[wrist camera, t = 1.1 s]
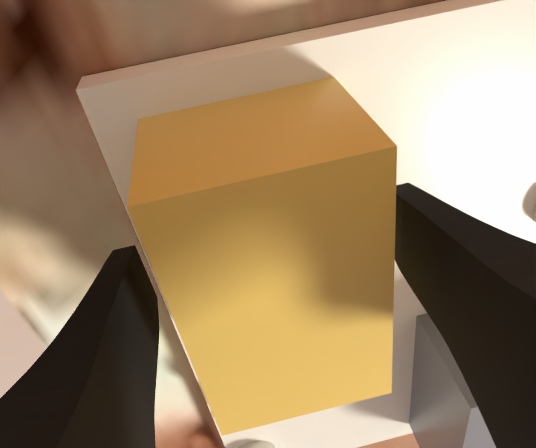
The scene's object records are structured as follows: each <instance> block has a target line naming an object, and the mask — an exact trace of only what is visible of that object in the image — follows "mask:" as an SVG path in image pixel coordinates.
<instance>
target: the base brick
mask: <svg viewBox="0 0 536 448" xmlns="http://www.w3.org/2000/svg"><path fill="white" fill-rule="evenodd" d="M409 425H410V427H411V429H412V431H413V434H414V436H415V438H416V440H417V442H418V445H419V447H420V448H496V446H495V444H494V442H493V439H492V437H491V435H490V433H489V431H488V428H487V426H486V424H485V422H484V419H483V417H482V415H481V413H480V411H479V408H478V406H477V404H476V402H475V400H474V398H473V396H472V394H471V392H470V389H469V387H468V385H467V383H466V381H465V379H464V377H463V375H462V373H461V371H460V369H459V367H458V365H457V363H456V361H455V359H454V357H453V355H452V353H451V351H450V349H449V347H448V346H447V344H446V342H445V340H444V339H443V337H442V335H441V334H440V332H439V330H438V329H437V327H436V326H435V324H434V323H433V321H432V320H431V318H430V317H429V315H428V314H427V313H426V314H422V315H418V316H416V330H415V344H414V359H413V374H412V388H411V403H410V417H409Z"/></svg>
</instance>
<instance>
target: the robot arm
mask: <svg viewBox="0 0 536 448" xmlns="http://www.w3.org/2000/svg"><path fill="white" fill-rule="evenodd" d="M395 262H396V264H397V266H398V268H399V270H400V272H401V273H402V275H403V277H404V278H405V280H406V281H407V283H408V284H409V286H410V287H411V289H412V291H413V292H414V294H415V295H416V297H417V298H418V300H419V301H420V303H421V304H422V306H423V307H424V309H425V310H426V312H427V314H428V315H429V317H430V318H431V320H432V321H433V323H434V324H435V326H436V327H437V329H438V330H439V332H440V334H441V335H442V337H443V339H444V340H445V342H446V344H447V346H448V347H449V349H450V351H451V353H452V355H453V357H454V359H455V361H456V363H457V365H458V367H459V369H460V371H461V373H462V375H463V377H464V379H465V381H466V383H467V385H468V387H469V389H470V392H471V394H472V396H473V398H474V400H475V402H476V404H477V406H478V408H479V411H480V413H481V415H482V417H483V419H484V422H485V424H486V426H487V428H488V431H489V433H490V435H491V437H492V439H493V442H494V444H495V446H496V448H536V243H533V242H530V241H528V240H525V239H522V238H520V237H517V236H515V235H512V234H510V233H507V232H505V231H503V230H500V229H498V228H496V227H494V226H491V225H489V224H487V223H485V222H483V221H481V220H479V219H477V218H474V217H472V216H470V215H468V214H466V213H465V212H463V211H461V210H459V209H457V208H455V207H453V206H451V205H449V204H447V203H446V202H444V201H442V200H440V199H438V198H436V197H435V196H433V195H431V194H429V193H427V192H426V191H424V190H422V189H420V188H418V187H416V186H414V185H412V184H410V183H404V184H400V185H396V222H395ZM158 344H159V315H158V302H157V296H156V293H155V291H154V289H153V286H152V284H151V282H150V279H149V277H148V275H147V272H146V270H145V268H144V265H143V263H142V261H141V258H140V256H139V254H138V251H137V249H136V247H135V245H134V246H130V247H125V248H121V249H117V250H113V251H112V253H111V254H110V256H109V257H108V259H107V260H106V262H105V264H104V265H103V267H102V269H101V270H100V272H99V274H98V275H97V277H96V278H95V280H94V282H93V283H92V285H91V287H90V288H89V290H88V291H87V293H86V294H85V296H84V298H83V299H82V301H81V302H80V304H79V305H78V307H77V308H76V310H75V311H74V313H73V314H72V316H71V317H70V318H69V320H68V321H67V323H66V324H65V325H64V327H63V328H62V330H61V331H60V332H59V334H58V335H57V336H56V338H55V339H54V340H53V341H52V343H51V344H50V345H49V346H48V348H47V349H46V350H45V351H44V352H43V354H42V355H41V356H40V357H39V358H38V359H37V361H36V362H35V363H34V364H33V365H32V366H31V367H30V369H29V370H28V371H27V372H26V373H25V374H24V375H23V376H22V377H21V378H20V379H19V380H18V381H17V382H16V383H15V384H14V385H13V386H12V387H11V388H10V389H9V390H8V391H7V392H6V394H4V395H3V396H2V397H1V398H0V448H155V426H154V406H155V388H156V374H157V359H158Z"/></svg>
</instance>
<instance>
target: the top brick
mask: <svg viewBox="0 0 536 448" xmlns="http://www.w3.org/2000/svg"><path fill="white" fill-rule="evenodd" d="M396 178H397V145H396V144H395V143H394V142H393V141H392V140H391V139H390V138H389V136H388V135H387V134H386V133H385V132H384V131H383V130H382V129H381V128H380V127H379V126H378V124H377V123H376V122H375V121H374V120H373V119H372V118H371V117H370V116H369V115H368V113H367V112H366V111H365V110H364V109H363V108H362V107H361V106H360V105H359V104H358V103H357V101H356V100H355V99H354V98H353V97H352V96H351V95H350V94H349V93H348V92H347V90H346V89H345V88H344V87H343V86H342V85H341V84H340V83H339V82H338V81H337V80H336V78H335V77H329V78H325V79H320V80H315V81H311V82H306V83H302V84H297V85H292V86H288V87H283V88H278V89H274V90H269V91H264V92H260V93H255V94H250V95H246V96H241V97H236V98H232V99H227V100H222V101H218V102H213V103H209V104H204V105H199V106H195V107H190V108H185V109H181V110H176V111H171V112H167V113H162V114H157V115H153V116H148V117H143V118H139V119H138V127H137V134H136V142H135V149H134V157H133V164H132V172H131V180H130V187H129V195H128V202H127V208H128V211H129V213H130V216H131V218H132V220H133V223H134V225H135V228H136V230H137V232H138V235H139V237H140V240H141V242H142V244H143V247H144V249H145V252H146V254H147V257H148V259H149V261H150V264H151V266H152V269H153V271H154V273H155V276H156V278H157V281H158V283H159V286H160V288H161V290H162V293H163V295H164V298H165V300H166V302H167V305H168V307H169V310H170V312H171V314H172V317H173V319H174V322H175V324H176V327H177V329H178V331H179V334H180V336H181V339H182V341H183V343H184V346H185V348H186V351H187V353H188V356H189V358H190V360H191V363H192V365H193V368H194V370H195V372H196V375H197V377H198V380H199V382H200V385H201V387H202V389H203V392H204V394H205V397H206V399H207V401H208V404H209V406H210V409H211V411H212V413H213V416H214V418H215V421H216V423H217V426H218V428H219V430H220V433H221V435H222V436H223V435H227V434H231V433H235V432H239V431H243V430H247V429H251V428H255V427H259V426H263V425H267V424H271V423H275V422H279V421H283V420H286V419H290V418H294V417H298V416H302V415H306V414H310V413H314V412H318V411H322V410H326V409H330V408H334V407H338V406H342V405H346V404H350V403H353V402H357V401H361V400H365V399H369V398H373V397H377V396H381V395H385V394H389V393H392V354H393V310H394V266H395V222H396Z"/></svg>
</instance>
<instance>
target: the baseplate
mask: <svg viewBox="0 0 536 448" xmlns="http://www.w3.org/2000/svg"><path fill="white" fill-rule="evenodd" d="M329 77H335V78H336V80H337V81H338V82H339V83H340V84H341V85H342V86H343V87H344V88H345V89H346V90H347V92H348V93H349V94H350V95H351V96H352V97H353V98H354V99H355V100H356V101H357V103H358V104H359V105H360V106H361V107H362V108H363V109H364V110H365V111H366V112H367V113H368V115H369V116H370V117H371V118H372V119H373V120H374V121H375V122H376V123H377V124H378V126H379V127H380V128H381V129H382V130H383V131H384V132H385V133H386V134H387V135H388V136H389V138H390V139H391V140H392V141H393V142H394V143H395V144H396V145H397V178H396V185H400V184H404V183H410V184H412V185H414V186H416V187H418V188H420V189H422V190H424V191H426V192H427V193H429V194H431V195H433V196H435V197H436V198H438V199H440V200H442V201H444V202H446V203H447V204H449V205H451V206H453V207H455V208H457V209H459V210H461V211H463V212H465V213H466V214H468V215H470V216H472V217H474V218H477V219H479V220H481V221H483V222H485V223H487V224H489V225H491V226H494V227H496V228H498V229H500V230H503V231H505V232H507V233H510V234H512V235H515V236H517V237H520V238H522V239H525V240H528V241H530V242H533V243H536V0H446V1H441V2H436V3H432V4H427V5H422V6H417V7H413V8H408V9H403V10H398V11H393V12H389V13H384V14H379V15H374V16H369V17H365V18H360V19H355V20H350V21H346V22H341V23H336V24H331V25H326V26H322V27H317V28H312V29H307V30H302V31H298V32H293V33H288V34H283V35H279V36H274V37H269V38H264V39H259V40H255V41H250V42H245V43H240V44H236V45H231V46H226V47H221V48H216V49H212V50H207V51H202V52H197V53H192V54H188V55H183V56H178V57H173V58H169V59H164V60H159V61H154V62H149V63H145V64H140V65H135V66H130V67H125V68H121V69H116V70H111V71H106V72H102V73H97V74H92V75H87V76H82V78H81V80H80V82H79V84H78V86H77V88H76V92H77V95H78V97H79V100H80V102H81V104H82V107H83V109H84V112H85V114H86V116H87V119H88V121H89V124H90V126H91V128H92V131H93V133H94V136H95V138H96V140H97V143H98V145H99V147H100V150H101V152H102V155H103V157H104V159H105V162H106V164H107V167H108V169H109V171H110V174H111V176H112V179H113V181H114V183H115V186H116V188H117V190H118V193H119V195H120V198H121V200H122V202H123V205H124V207H125V210H126V212H127V214H128V217H129V219H130V222H131V224H132V226H133V229H134V231H135V234H136V236H137V238H138V241H139V243H140V245H141V248H142V250H143V253H144V255H145V257H146V260H147V262H148V265H149V267H150V269H151V272H152V274H153V277H154V279H155V281H156V284H157V286H158V288H159V291H160V293H161V296H162V298H163V300H164V303H165V305H166V308H167V310H168V312H169V315H170V317H171V320H172V322H173V324H174V327H175V329H176V331H177V334H178V336H179V339H180V341H181V343H182V346H183V348H184V351H185V353H186V355H187V358H188V360H189V363H190V365H191V367H192V370H193V372H194V375H195V377H196V379H197V382H198V384H199V386H200V389H201V391H202V394H203V396H204V398H205V401H206V403H207V406H208V408H209V410H210V413H211V415H212V418H213V420H214V422H215V425H216V427H217V429H218V432H219V434H220V437H221V439H222V441H223V444H224V446H225V448H356V447H360V446H364V445H368V444H372V443H376V442H380V441H383V440H387V439H391V438H395V437H399V436H403V435H407V434H410V433H413V431H412V429H411V427H410V425H409V417H410V403H411V388H412V374H413V359H414V344H415V330H416V316H418V315H422V314H426V313H427V312H426V310H425V309H424V307H423V306H422V304H421V303H420V301H419V300H418V298H417V297H416V295H415V294H414V292H413V291H412V289H411V287H410V286H409V284H408V283H407V281H406V280H405V278H404V277H403V275H402V273H401V272H400V270H399V268H398V266H397V264H396V262H395V266H394V310H393V354H392V393H389V394H385V395H381V396H377V397H373V398H369V399H365V400H361V401H357V402H353V403H350V404H346V405H342V406H338V407H334V408H330V409H326V410H322V411H318V412H314V413H310V414H306V415H302V416H298V417H294V418H290V419H286V420H283V421H279V422H275V423H271V424H267V425H263V426H259V427H255V428H251V429H247V430H243V431H239V432H235V433H231V434H227V435H223V436H222V435H221V433H220V430H219V428H218V426H217V423H216V421H215V418H214V416H213V413H212V411H211V409H210V406H209V404H208V401H207V399H206V397H205V394H204V392H203V389H202V387H201V385H200V382H199V380H198V377H197V375H196V372H195V370H194V368H193V365H192V363H191V360H190V358H189V356H188V353H187V351H186V348H185V346H184V343H183V341H182V339H181V336H180V334H179V331H178V329H177V327H176V324H175V322H174V319H173V317H172V314H171V312H170V310H169V307H168V305H167V302H166V300H165V298H164V295H163V293H162V290H161V288H160V286H159V283H158V281H157V278H156V276H155V273H154V271H153V269H152V266H151V264H150V261H149V259H148V257H147V254H146V252H145V249H144V247H143V244H142V242H141V240H140V237H139V235H138V232H137V230H136V228H135V225H134V223H133V220H132V218H131V216H130V213H129V211H128V208H127V202H128V195H129V187H130V180H131V172H132V164H133V157H134V149H135V142H136V134H137V127H138V119H139V118H143V117H148V116H153V115H157V114H162V113H167V112H171V111H176V110H181V109H185V108H190V107H195V106H199V105H204V104H209V103H213V102H218V101H222V100H227V99H232V98H236V97H241V96H246V95H250V94H255V93H260V92H264V91H269V90H274V89H278V88H283V87H288V86H292V85H297V84H302V83H306V82H311V81H315V80H320V79H325V78H329Z"/></svg>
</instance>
